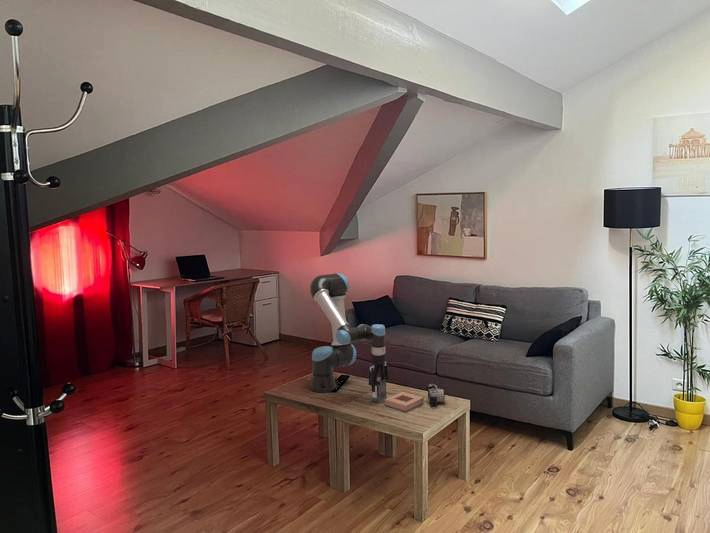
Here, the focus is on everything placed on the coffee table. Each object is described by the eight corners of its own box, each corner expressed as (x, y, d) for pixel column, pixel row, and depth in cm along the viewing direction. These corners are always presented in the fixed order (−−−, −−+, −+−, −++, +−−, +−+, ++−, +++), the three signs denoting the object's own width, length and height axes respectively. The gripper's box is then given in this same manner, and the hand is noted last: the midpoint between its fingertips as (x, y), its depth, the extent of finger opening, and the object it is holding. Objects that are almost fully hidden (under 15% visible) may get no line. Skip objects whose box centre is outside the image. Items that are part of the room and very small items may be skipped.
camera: (445, 408, 299) (445, 390, 297) (427, 408, 299) (428, 390, 298) (442, 397, 314) (443, 380, 313) (426, 397, 315) (426, 380, 313)
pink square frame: (384, 405, 304) (384, 399, 304) (402, 397, 315) (402, 391, 314) (405, 412, 295) (405, 405, 294) (423, 404, 305) (423, 397, 305)
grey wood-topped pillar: (371, 400, 312) (371, 379, 310) (377, 398, 315) (377, 376, 314) (380, 403, 308) (380, 381, 306) (386, 400, 311) (386, 379, 310)
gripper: (371, 359, 298) (372, 402, 301) (395, 351, 312) (395, 392, 315) (360, 356, 303) (361, 398, 306) (384, 348, 317) (385, 389, 321)
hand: (378, 395), depth 311 cm, fingers open, 6 cm apart
